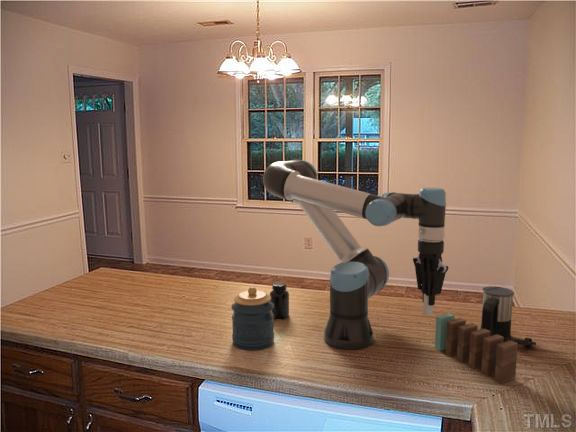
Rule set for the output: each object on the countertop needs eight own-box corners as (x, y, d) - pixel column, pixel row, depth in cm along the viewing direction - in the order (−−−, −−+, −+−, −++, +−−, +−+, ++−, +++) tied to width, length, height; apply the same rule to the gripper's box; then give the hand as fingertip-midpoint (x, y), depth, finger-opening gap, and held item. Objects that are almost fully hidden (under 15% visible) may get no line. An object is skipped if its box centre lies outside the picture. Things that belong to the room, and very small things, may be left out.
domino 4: (488, 365, 131) (490, 331, 130) (474, 369, 129) (476, 334, 127) (482, 362, 133) (484, 328, 131) (468, 366, 131) (470, 332, 129)
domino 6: (515, 379, 124) (517, 343, 122) (501, 384, 122) (503, 347, 120) (508, 376, 126) (511, 340, 124) (494, 380, 123) (497, 344, 122)
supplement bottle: (266, 318, 166) (266, 285, 164) (274, 311, 172) (274, 279, 170) (284, 321, 164) (284, 287, 162) (292, 314, 170) (291, 281, 168)
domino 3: (475, 359, 135) (477, 325, 133) (462, 363, 133) (464, 329, 131) (470, 356, 137) (472, 323, 135) (456, 360, 135) (458, 326, 133)
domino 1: (434, 348, 142) (436, 316, 141) (447, 344, 144) (449, 313, 143) (439, 350, 140) (441, 318, 139) (452, 347, 143) (454, 315, 141)
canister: (227, 337, 151) (225, 283, 148) (265, 330, 156) (264, 278, 153) (239, 354, 139) (238, 296, 136) (280, 346, 144) (280, 290, 141)
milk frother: (480, 327, 157) (483, 284, 154) (534, 335, 150) (538, 290, 148) (477, 345, 144) (480, 298, 142) (536, 354, 138) (540, 305, 135)
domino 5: (501, 372, 128) (503, 337, 126) (487, 376, 125) (489, 340, 124) (495, 369, 129) (497, 334, 128) (481, 373, 127) (483, 338, 125)
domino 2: (464, 352, 139) (465, 320, 137) (450, 356, 137) (452, 323, 135) (458, 350, 141) (460, 317, 139) (445, 353, 138) (447, 321, 137)
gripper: (406, 236, 148) (404, 309, 152) (437, 245, 136) (433, 323, 140) (425, 234, 151) (422, 305, 155) (456, 242, 140) (452, 319, 144)
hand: (428, 314), depth 148 cm, fingers closed
